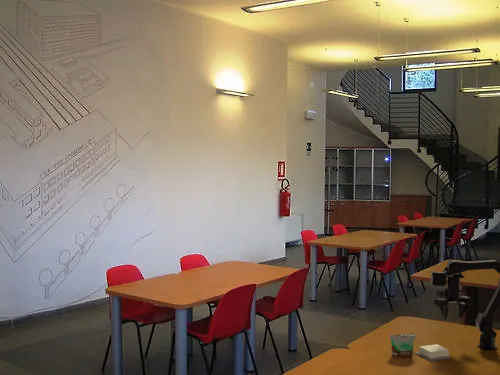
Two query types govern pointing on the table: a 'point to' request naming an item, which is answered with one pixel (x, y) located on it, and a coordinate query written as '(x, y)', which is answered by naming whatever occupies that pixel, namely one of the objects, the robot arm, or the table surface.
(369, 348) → the table surface
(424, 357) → the rubber mat
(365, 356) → the table surface
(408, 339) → the food container
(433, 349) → the glazed tile
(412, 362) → the table surface
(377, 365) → the table surface
